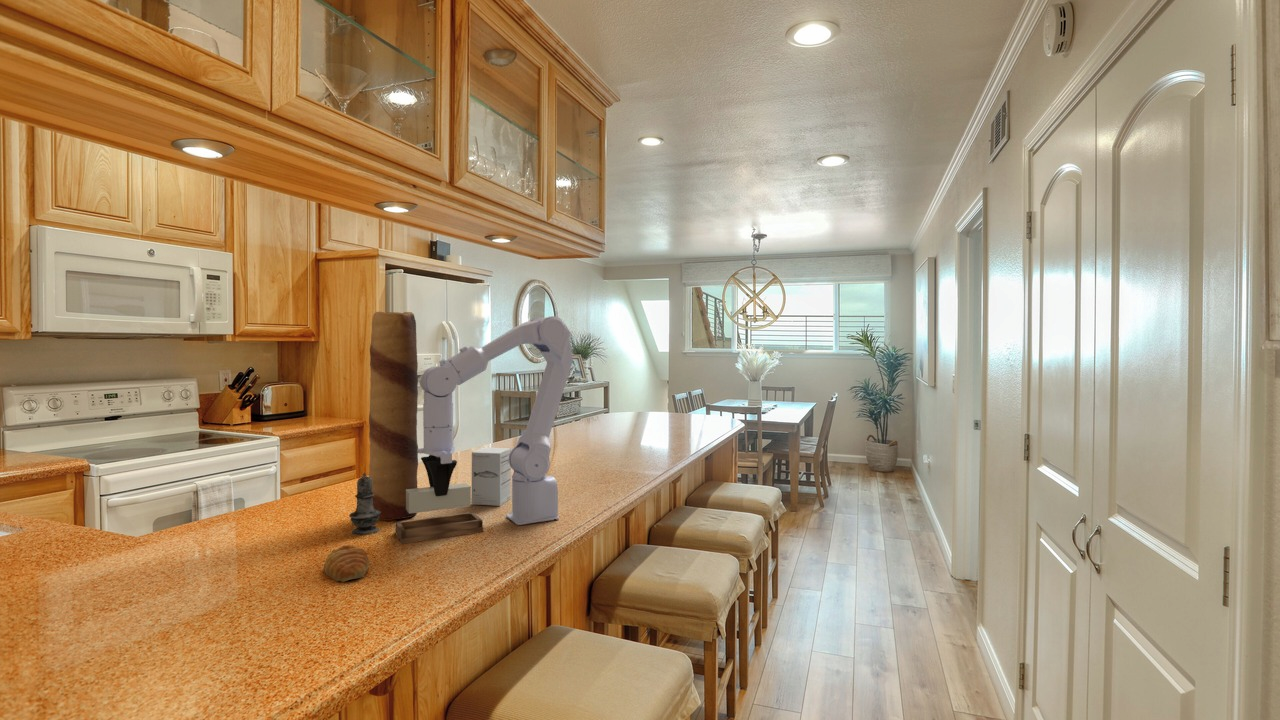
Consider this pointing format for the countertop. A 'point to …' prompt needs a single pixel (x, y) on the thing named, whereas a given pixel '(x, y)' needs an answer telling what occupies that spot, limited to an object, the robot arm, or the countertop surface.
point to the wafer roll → (393, 412)
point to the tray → (438, 527)
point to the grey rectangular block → (437, 498)
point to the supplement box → (491, 476)
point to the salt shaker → (364, 508)
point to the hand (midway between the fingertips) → (439, 493)
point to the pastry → (346, 563)
